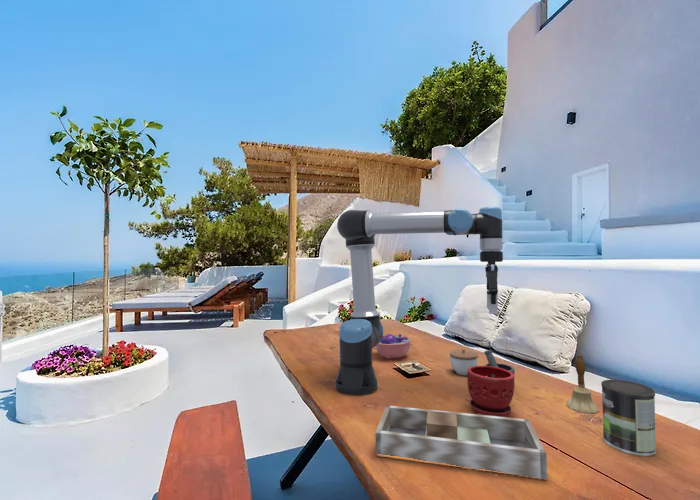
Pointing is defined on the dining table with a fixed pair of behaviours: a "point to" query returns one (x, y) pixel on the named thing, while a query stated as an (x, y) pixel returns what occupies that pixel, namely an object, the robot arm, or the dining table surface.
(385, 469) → the dining table surface
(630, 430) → the coffee can
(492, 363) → the mortar and pestle
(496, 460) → the box
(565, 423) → the dining table surface
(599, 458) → the dining table surface
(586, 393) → the hand bell
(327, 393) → the dining table surface
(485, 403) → the plant pot
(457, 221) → the robot arm
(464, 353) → the lidded jar
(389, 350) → the cell model
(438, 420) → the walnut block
